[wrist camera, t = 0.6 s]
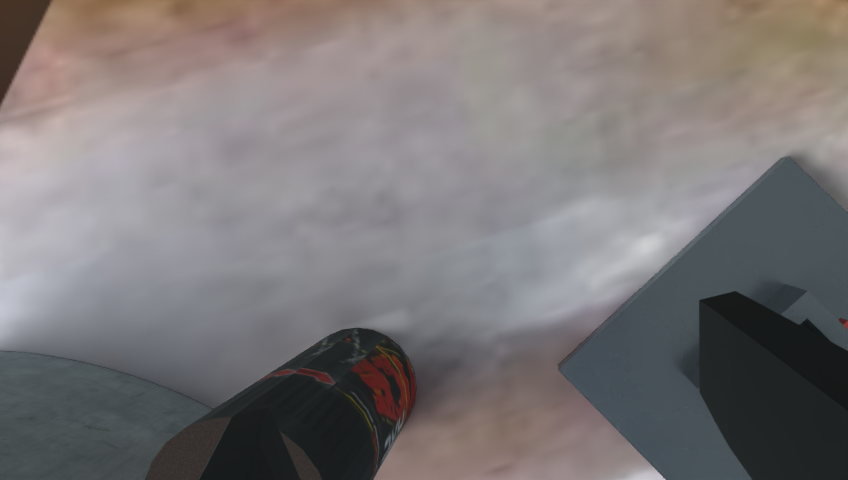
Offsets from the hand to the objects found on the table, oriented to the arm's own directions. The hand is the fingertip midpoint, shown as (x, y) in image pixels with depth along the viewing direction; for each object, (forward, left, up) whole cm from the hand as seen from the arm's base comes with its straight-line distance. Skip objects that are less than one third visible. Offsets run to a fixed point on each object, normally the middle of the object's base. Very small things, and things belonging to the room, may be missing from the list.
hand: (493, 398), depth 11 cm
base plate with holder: (-12, -5, -22) cm, 26 cm away
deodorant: (+1, +10, -23) cm, 25 cm away
